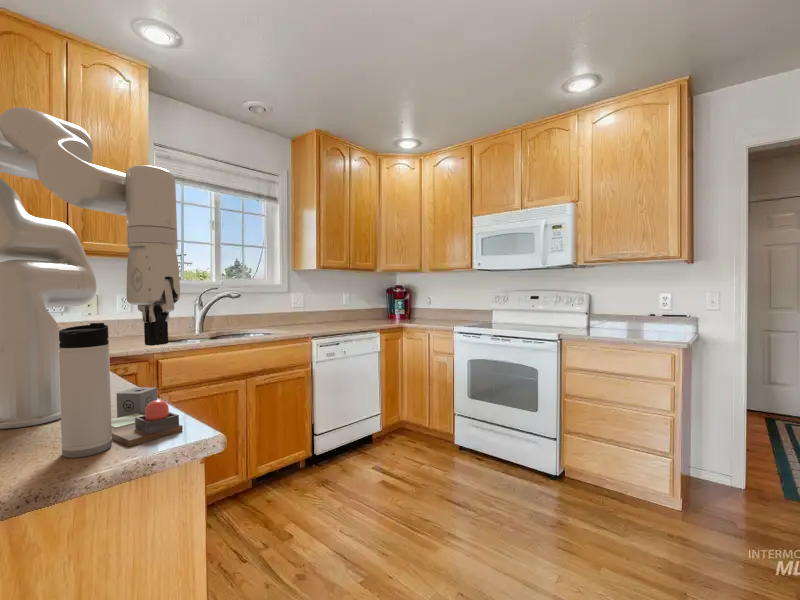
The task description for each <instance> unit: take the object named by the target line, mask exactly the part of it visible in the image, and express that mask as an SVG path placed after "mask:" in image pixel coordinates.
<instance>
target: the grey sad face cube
mask: <svg viewBox="0 0 800 600" xmlns="http://www.w3.org/2000/svg"><path fill="white" fill-rule="evenodd" d="M154 400H158V387H143V386H142V387H137V386H136V387H132V388H128V389H125V390H123V391H119V392H117V393H116V418H120V417H124V416H128V415H132V414H137V413H143V412H144V413H145V409H146V406H147V405H148V404H149V403H150V402H152V401H154Z"/></svg>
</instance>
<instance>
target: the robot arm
mask: <svg viewBox="0 0 800 600" xmlns="http://www.w3.org/2000/svg"><path fill="white" fill-rule="evenodd" d="M93 152H94V145H93V140H92V138H91V136H90V135H89V134H88V133H87V131H86V130H85V129H84V128H82V127H80V126H79V125H76V124H75V123H71V122H69V121H66V120H64V119H61V118H58V117H56V116H53V115H51V114H48V113H46V112H43V111H40V110H36V109H34V108H29V107H22V106H19V107H18V106H15V107H10V108H9V109H5V111H3V112H2V113H1V114H0V173H2V174H8V175H12V176H15V177H21V178H26V179H28V180H35V181H40V183H41V184H42V185H43V186H44V187H45V188H46V189H47V190H48V191H50V192H51V193H52V194H54V195H55V196H57V197H58V198H59V199H61V200H62V201H64V202H66V203H68V204H70V205H72V206H74V207H76V208H81V209H86V210H90V211H96V212H102V213H107V214H112V215H118V216H122V217H126V238H127V239H126V242H127V248H129V249H128V254H127V264H126V267H127V268H126V301H127V303H128V304H129V305H132V306H133V305H137V310H138V311H140V312H141V314H142V315H141V316H142V322H143V332H144V333H143V334H144V345H145V346H150V347H151V346H152V347H153V346H160V345H167V344H169V329H168V328H169V327H168V325H169V324H168V322H169V320H170V313H171V312H173V311H175V304H176V303H178V302H179V300H180V298H181V280H180V267H179V261H178V260H179V258H178V254H177V253H178V252H177V250H179V248H178V247H179V246H178V243H179V242H178V222H177V221H178V220H177V219H178V218H177V215H178V214H177V193H176V192H177V190H176V188H177V187H176V185H177V184H176V179H175V176H174V174H173V173H172V172H170V170H167V169H165V168H162V167H159V166H153V165H143V164H142V165H134V166H131V167H129V168H127V170H125V171H126V172H125V173H124V172H121V171H118V170H114V169H110V168H108V167H103V166H101V165H97V164H93ZM0 260H2V261H0V430H5V429H17V428H24V427H30V426H36V425H41V424H46V423H50V422H53V421H57V420H58V421H59V420H61V400H60V368H59V352H60V351H59V343H60V341H59V331H60V328H59V327H60V326H59V324H58V323H57V321H56V319H55V318H54V316H52V315H51V313H50V312H49V311H48V309H49V308H64V307H79V306H83V305H87V304H88V303H90V302H91V301H92V300H93V299H94V298H95V295H96V293H97V280H96V277H95V273H94V271H93V269H92V265H91V264H90V261H89V259H88V256H87V255H86V252H85V250H84V248H83V246H82V243H81V240H80V239H79V236H78V234H77V233H76V231H74V229H72V227H70V226H69V225H68V224H66V223H65V222H61V221H59V220H55V219H49V218H43V217H37V216H34V215H31V214H29V213H28V211H26V209H25V207H24V205H23V202H22V200H21V198H20V196H19V195H18V193H17V192H16V190H15V189H14V188H13V187H12V186H11V185H10V184H9V183H8V182H6V181H5V180H4V179H3V178H1V177H0ZM47 308H48V309H47Z"/></svg>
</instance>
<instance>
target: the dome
mask: <svg viewBox="0 0 800 600" xmlns="http://www.w3.org/2000/svg"><path fill="white" fill-rule="evenodd" d="M169 410H170V408H169V404H168V403H167V402H166V401H164V400H163V399H157V400H154V401H152V402H150V403H149V404H148V405H147V406H146V409H145V420H147V421H150V422H151V421H155V420H159V419H163V418H167V417H169V412H170V411H169Z"/></svg>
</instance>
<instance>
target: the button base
mask: <svg viewBox="0 0 800 600" xmlns="http://www.w3.org/2000/svg"><path fill="white" fill-rule="evenodd" d="M183 427H184V426H183V425H182V424H180V415H179V414H177V413H174V412H170V411H169V417H167V418H163V419H159V420H155V421H151V422H150V421H147V420H145V413H144V412H143V413H137V414H132V415H128V416H124V417H120V418H117V417H116V418H111V429H112V435H111V437H112V440H113V441H116V442H118V443H121V444H123V445H125V446H127V447H132V446H137V445H140V444H143V443H147V442H149V441H153V440H156V439H160V438H164V437H167V436H170V435H174V434H178V433H181V432H183V431H182V430H183ZM180 431H181V432H180ZM177 432H178V433H177Z"/></svg>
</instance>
